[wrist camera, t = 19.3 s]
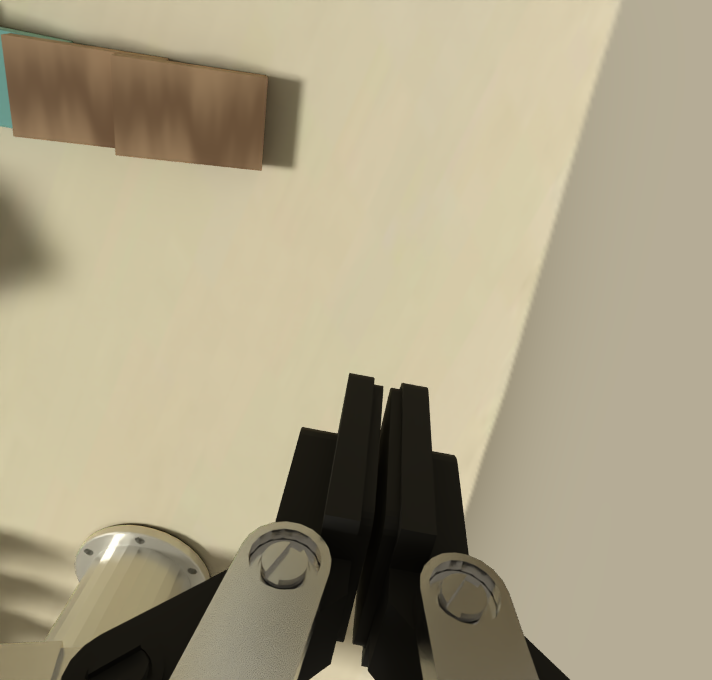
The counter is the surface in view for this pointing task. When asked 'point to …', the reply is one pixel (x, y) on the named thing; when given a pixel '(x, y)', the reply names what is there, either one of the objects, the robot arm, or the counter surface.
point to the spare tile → (0, 97)
